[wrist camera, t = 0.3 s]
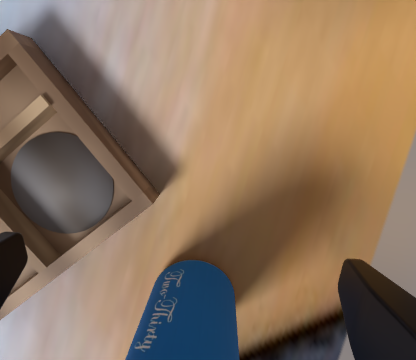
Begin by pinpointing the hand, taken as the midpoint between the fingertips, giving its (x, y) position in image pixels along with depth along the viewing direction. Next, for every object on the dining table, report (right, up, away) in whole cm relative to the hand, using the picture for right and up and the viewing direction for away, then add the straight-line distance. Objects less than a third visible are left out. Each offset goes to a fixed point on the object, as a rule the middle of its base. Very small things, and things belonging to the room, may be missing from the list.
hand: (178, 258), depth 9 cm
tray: (-14, +1, +15) cm, 21 cm away
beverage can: (0, -7, +17) cm, 18 cm away
